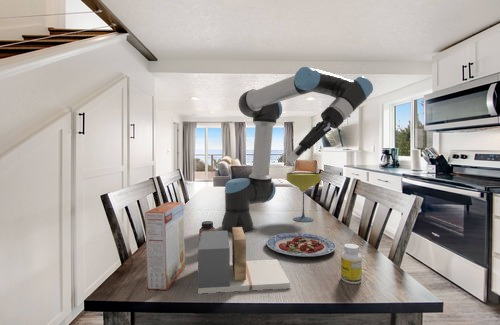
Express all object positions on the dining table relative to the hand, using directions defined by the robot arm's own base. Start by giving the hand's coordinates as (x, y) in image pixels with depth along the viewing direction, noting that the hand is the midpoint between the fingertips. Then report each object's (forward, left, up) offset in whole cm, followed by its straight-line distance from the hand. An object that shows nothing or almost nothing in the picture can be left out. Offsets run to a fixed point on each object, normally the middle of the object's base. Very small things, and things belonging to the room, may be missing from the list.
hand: (289, 161), depth 94 cm
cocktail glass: (-14, +51, -33) cm, 63 cm away
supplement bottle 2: (+23, -8, -33) cm, 41 cm away
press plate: (-5, -23, -31) cm, 39 cm away
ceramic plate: (+1, +9, -34) cm, 35 cm away
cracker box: (-22, -35, -33) cm, 53 cm away
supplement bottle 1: (-25, -14, -33) cm, 44 cm away
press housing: (-4, -23, -33) cm, 40 cm away
